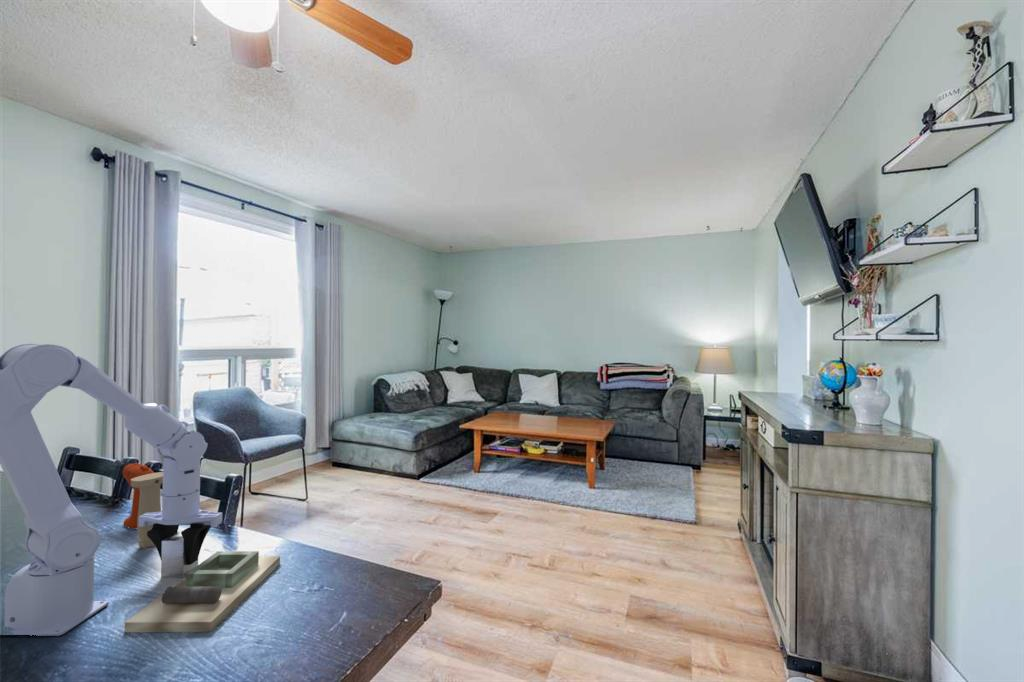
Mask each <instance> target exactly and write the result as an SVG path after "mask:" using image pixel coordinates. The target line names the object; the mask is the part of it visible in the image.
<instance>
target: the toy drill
mask: <svg viewBox="0 0 1024 682" xmlns="http://www.w3.org/2000/svg"><path fill="white" fill-rule="evenodd" d="M114 463H115V464H116V465H118V466H119V470H120V471H121V472H122V475H123V478H124V479H125V480H126V482H127V483H128V484H129V486H130V487H131V489H133V494H132V495H133V496H132V503H131V514H130V516H128V517H126V518H125V519H124V521H123V526H124V525H125V526H126V527H125V526H124V527H125V528H127V527H129V528H128V529H130V528H137V518H138V509H139V498H140V489H139V488H136V487H133V486H131V479H133V478H135V477H138V476H142V475H146V474H151V473H155V472H154V471H153V470H152V469H151V468H150V467H148V465H146V464H141V463H139V462H138V463H137V462H135V463H132V462H129V461H128V462H123V461H121V460H119V459H116V460H115V461H114Z"/></svg>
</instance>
